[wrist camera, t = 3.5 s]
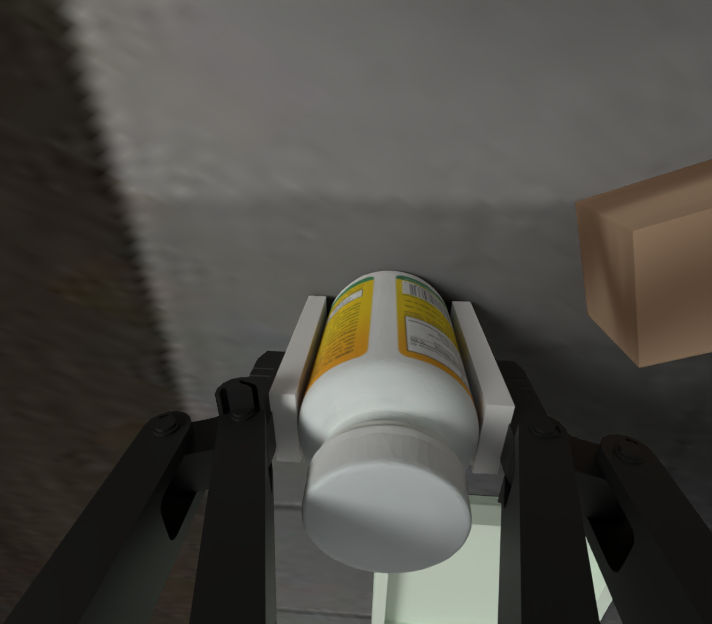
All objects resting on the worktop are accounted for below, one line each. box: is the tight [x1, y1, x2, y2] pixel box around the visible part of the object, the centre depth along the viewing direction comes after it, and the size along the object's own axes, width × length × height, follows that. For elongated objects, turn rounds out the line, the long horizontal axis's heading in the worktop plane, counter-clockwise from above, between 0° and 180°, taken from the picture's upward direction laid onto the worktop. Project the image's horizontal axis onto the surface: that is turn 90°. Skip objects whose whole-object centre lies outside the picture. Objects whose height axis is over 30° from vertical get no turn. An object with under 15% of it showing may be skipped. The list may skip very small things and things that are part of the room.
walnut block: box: [575, 159, 712, 368], centre depth 13 cm, size 5×5×4 cm
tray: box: [372, 495, 612, 624], centre depth 25 cm, size 14×14×2 cm
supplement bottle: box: [298, 271, 479, 574], centre depth 13 cm, size 5×5×10 cm
